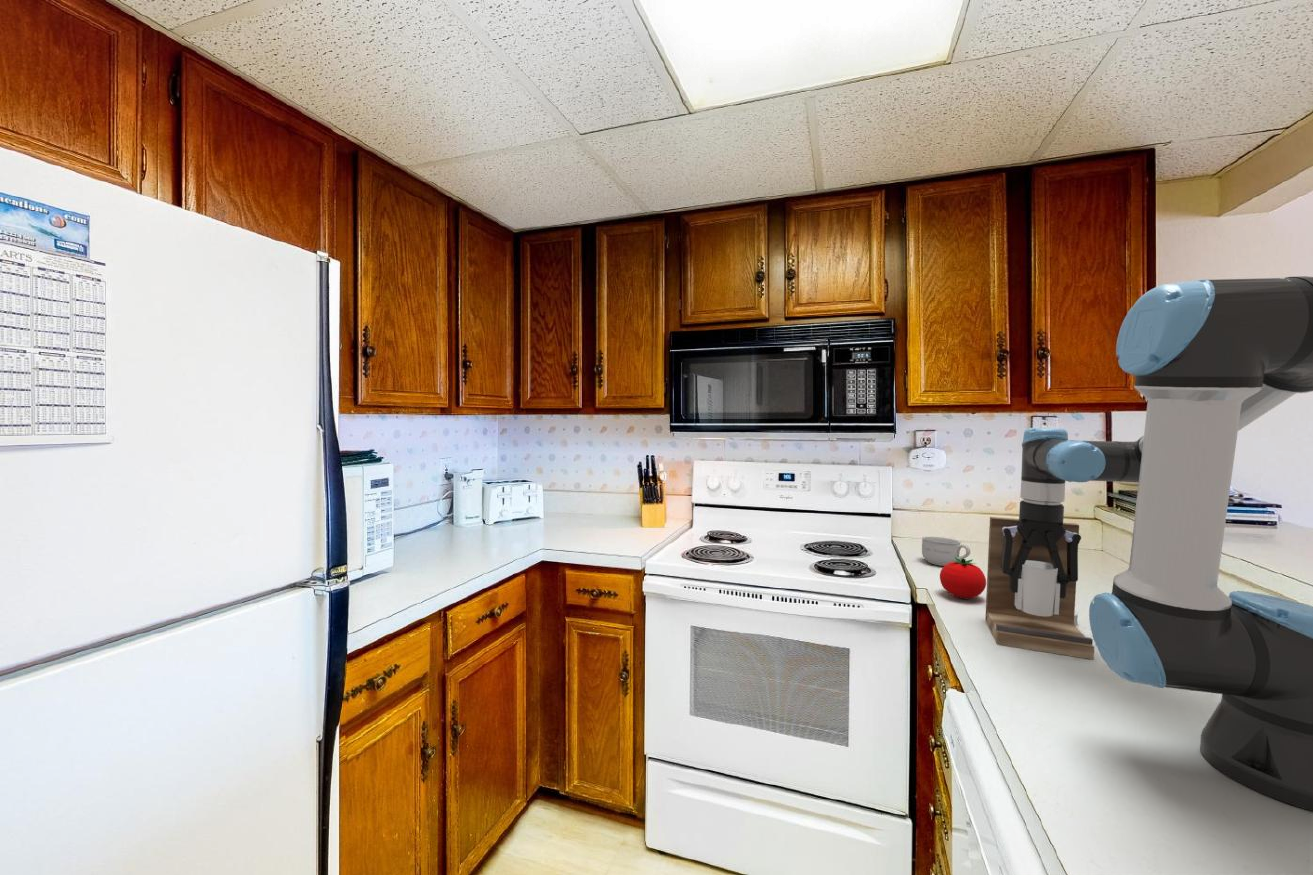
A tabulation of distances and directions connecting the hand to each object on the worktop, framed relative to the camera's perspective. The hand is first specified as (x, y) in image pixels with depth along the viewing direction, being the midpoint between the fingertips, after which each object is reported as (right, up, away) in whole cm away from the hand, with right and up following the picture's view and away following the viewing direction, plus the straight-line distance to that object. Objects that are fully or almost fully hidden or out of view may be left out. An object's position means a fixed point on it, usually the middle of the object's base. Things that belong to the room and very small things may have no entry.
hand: (1036, 609), depth 112 cm
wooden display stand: (0, -6, 0) cm, 6 cm away
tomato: (-2, -5, +25) cm, 25 cm away
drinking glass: (0, -1, 0) cm, 1 cm away
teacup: (+10, -4, +54) cm, 55 cm away
